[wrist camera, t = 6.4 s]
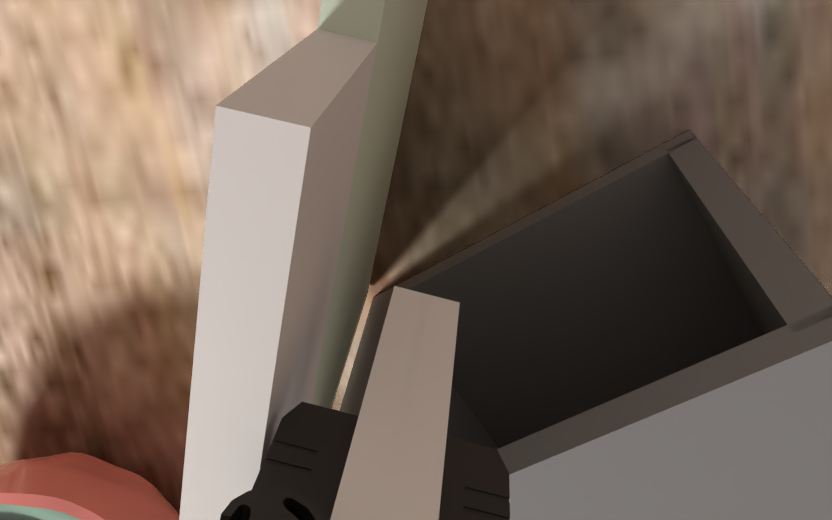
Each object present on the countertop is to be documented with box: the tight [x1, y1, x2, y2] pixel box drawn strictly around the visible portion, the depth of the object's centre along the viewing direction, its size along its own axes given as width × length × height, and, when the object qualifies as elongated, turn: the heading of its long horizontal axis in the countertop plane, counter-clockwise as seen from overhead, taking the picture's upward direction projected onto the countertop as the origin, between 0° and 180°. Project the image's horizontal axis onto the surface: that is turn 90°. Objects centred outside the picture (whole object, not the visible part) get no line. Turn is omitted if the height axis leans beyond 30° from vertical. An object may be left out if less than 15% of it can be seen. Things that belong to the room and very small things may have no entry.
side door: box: [179, 0, 428, 520], centre depth 22 cm, size 1×16×22 cm, turn 169°
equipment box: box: [340, 130, 832, 520], centre depth 29 cm, size 14×16×16 cm
